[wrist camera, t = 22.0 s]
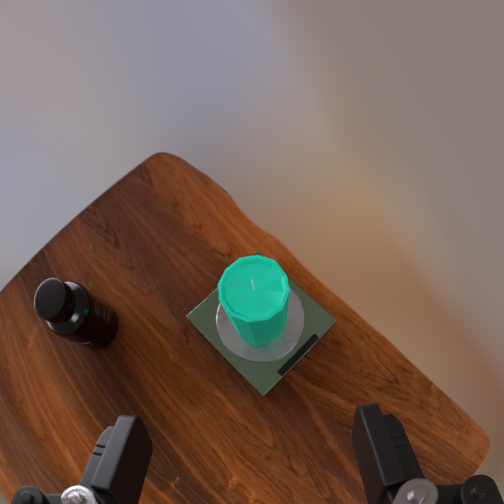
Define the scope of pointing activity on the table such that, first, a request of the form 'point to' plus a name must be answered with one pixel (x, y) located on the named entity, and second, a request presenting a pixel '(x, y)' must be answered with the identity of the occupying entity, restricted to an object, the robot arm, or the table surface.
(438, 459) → the table surface
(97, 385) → the table surface
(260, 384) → the scale
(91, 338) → the supplement bottle
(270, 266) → the candle
